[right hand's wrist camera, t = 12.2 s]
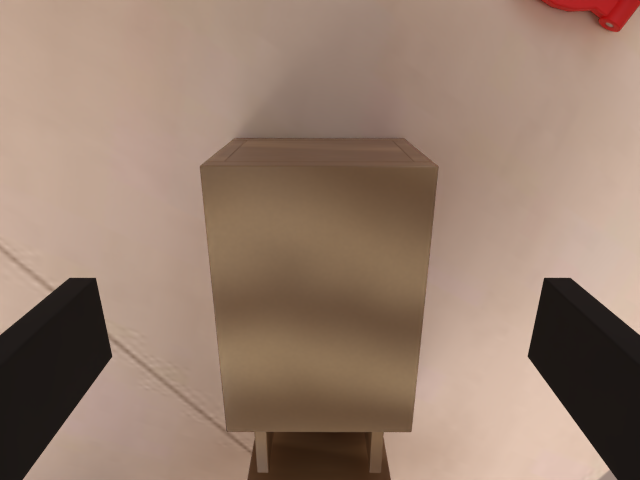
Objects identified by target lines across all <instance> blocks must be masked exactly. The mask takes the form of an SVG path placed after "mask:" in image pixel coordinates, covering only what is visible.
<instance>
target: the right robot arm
mask: <svg viewBox="0 0 640 480" xmlns="http://www.w3.org/2000/svg"><path fill="white" fill-rule="evenodd" d="M111 358H112V353H111V348H110V343H109V339H108V334H107V329H106V324H105V319H104V315H103V310H102V305H101V300H100V296H99V291H98V286H97V281H96V278H69V279H68V280H67V281H65V282H64V283H63V284H62V285H60V286H59V287H58V288H57V289H56V290H54V291H53V292H52V293H51V294H50V295H48V296H47V297H46V298H45V299H44V300H42V301H41V302H40V303H39V304H37V305H36V306H35V307H34V308H33V309H31V310H30V311H29V312H28V313H27V314H25V315H24V316H23V317H22V318H21V319H19V320H18V321H17V322H16V323H14V324H13V325H12V326H11V327H10V328H8V329H7V330H6V331H5V332H4V333H2V334H1V335H0V480H23V478H24V477H25V476H26V474H27V473H28V471H29V470H30V469H31V467H32V466H33V465H34V463H35V462H36V460H37V459H38V458H39V456H40V455H41V454H42V452H43V451H44V450H45V448H46V447H47V445H48V444H49V443H50V441H51V440H52V439H53V437H54V436H55V434H56V433H57V432H58V430H59V429H60V428H61V426H62V425H63V423H64V422H65V421H66V419H67V418H68V417H69V415H70V414H71V412H72V411H73V410H74V408H75V407H76V406H77V404H78V403H79V401H80V400H81V399H82V397H83V396H84V395H85V393H86V392H87V390H88V389H89V388H90V386H91V385H92V384H93V382H94V381H95V379H96V378H97V377H98V375H99V374H100V373H101V371H102V370H103V368H104V367H105V366H106V364H107V363H108V362H109V360H110V359H111ZM528 358H529V359H530V360H531V362H532V363H533V364H534V366H535V367H536V368H537V370H538V371H539V373H540V374H541V375H542V377H543V378H544V379H545V381H546V382H547V384H548V385H549V386H550V388H551V389H552V390H553V392H554V393H555V395H556V396H557V397H558V399H559V400H560V401H561V403H562V404H563V406H564V407H565V408H566V410H567V411H568V412H569V414H570V415H571V417H572V418H573V419H574V421H575V422H576V423H577V425H578V426H579V428H580V429H581V430H582V432H583V433H584V434H585V436H586V437H587V439H588V440H589V441H590V443H591V444H592V445H593V447H594V448H595V450H596V451H597V452H598V454H599V455H600V456H601V458H602V459H603V460H604V462H605V463H606V465H607V466H608V467H609V469H610V470H611V471H612V473H613V474H614V476H615V477H616V478H617V480H640V335H639V334H638V333H636V332H635V331H634V330H633V329H632V328H630V327H629V326H628V325H627V324H626V323H624V322H623V321H622V320H621V319H619V318H618V317H617V316H616V315H615V314H613V313H612V312H611V311H610V310H609V309H607V308H606V307H605V306H604V305H603V304H601V303H600V302H599V301H598V300H596V299H595V298H594V297H593V296H592V295H590V294H589V293H588V292H587V291H586V290H584V289H583V288H582V287H581V286H580V285H578V284H577V283H576V282H575V281H573V280H572V279H571V278H544V281H543V286H542V291H541V296H540V300H539V305H538V310H537V315H536V319H535V324H534V329H533V334H532V339H531V343H530V348H529V353H528Z"/></svg>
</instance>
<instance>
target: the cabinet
mask: <svg viewBox="0 0 640 480" xmlns="http://www.w3.org/2000/svg"><path fill="white" fill-rule="evenodd" d="M200 173H201V183H202V193H203V203H204V213H205V223H206V233H207V242H208V252H209V262H210V272H211V282H212V292H213V302H214V312H215V321H216V331H217V341H218V351H219V361H220V371H221V381H222V391H223V400H224V410H225V420H226V430H227V432H411V431H412V422H413V412H414V402H415V392H416V382H417V373H418V363H419V353H420V343H421V333H422V323H423V314H424V304H425V294H426V284H427V274H428V264H429V255H430V245H431V235H432V225H433V215H434V206H435V196H436V186H437V176H438V166H437V165H436V164H435V163H434V162H432V161H431V160H430V159H429V158H427V157H426V156H425V155H424V154H422V153H421V152H420V151H419V150H418V149H416V148H415V147H414V146H413V145H411V144H410V143H409V142H408V141H407V140H406V139H386V138H234V139H233V140H232V141H231V142H230V143H228V144H227V145H226V146H225V147H223V148H222V149H221V150H220V151H218V152H217V153H216V154H214V155H213V156H212V157H211V158H209V159H208V160H207V161H206V162H204V163H203V164H202V165H201V166H200Z"/></svg>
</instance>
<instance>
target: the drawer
mask: <svg viewBox="0 0 640 480" xmlns="http://www.w3.org/2000/svg"><path fill="white" fill-rule="evenodd" d="M383 434H384V432H255V440H254V446H253V451H252V457H251V463H250V468H249V474H248V479H247V480H391V478H390V472H389V467H388V461H387V455H386V449H385V443H384V438H383Z"/></svg>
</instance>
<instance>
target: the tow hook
mask: <svg viewBox="0 0 640 480" xmlns="http://www.w3.org/2000/svg"><path fill="white" fill-rule="evenodd" d="M541 1H543V2H544V3H546V4H547V5H549V6H550V7H554V8H557V9H561V10H565V11H588V10H590V11H591V12H592V13H594V14H595V15H596V16H598V17H599V18H600V19H599V20H598V22H599V24H600V25H601V26H602V27H604V28H605V29H607V30H610V31H613V32H618V31H620V30H621V29H622V27H623V26H624V25H625V23H626V22H627V21H628V19H629V18H630V17H631V16H632V14H633V13H634V12H635V10H636V9H637V8H638V7H639V5H640V0H541Z"/></svg>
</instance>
